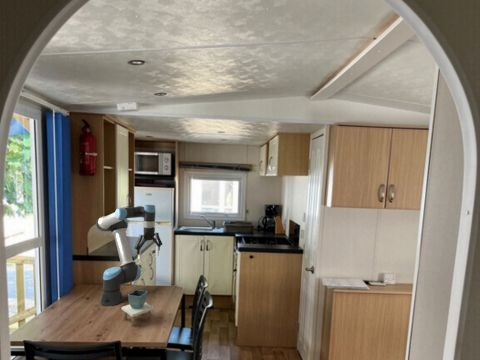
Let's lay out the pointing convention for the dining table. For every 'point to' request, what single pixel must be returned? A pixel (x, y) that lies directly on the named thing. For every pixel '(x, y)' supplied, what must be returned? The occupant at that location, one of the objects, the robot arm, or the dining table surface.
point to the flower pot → (137, 298)
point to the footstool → (137, 311)
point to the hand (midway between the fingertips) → (148, 257)
